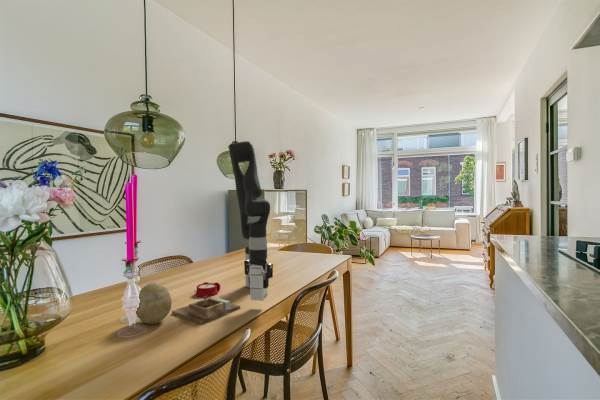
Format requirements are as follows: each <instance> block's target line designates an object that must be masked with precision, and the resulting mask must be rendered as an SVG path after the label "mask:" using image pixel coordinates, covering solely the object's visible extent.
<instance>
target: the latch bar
mask: <svg viewBox="0 0 600 400" xmlns="http://www.w3.org/2000/svg"><path fill="white" fill-rule="evenodd" d="M211 297H212V296H211ZM211 299H215V300H219V301H222V302H225V310H228V309H230V303H231V301H230V300H226V299H223V298H219V297H216V296H215V297H214V296H213V297H212V298H211Z"/></svg>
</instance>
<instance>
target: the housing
mask: <svg viewBox="0 0 600 400" xmlns="http://www.w3.org/2000/svg"><path fill="white" fill-rule="evenodd" d="M202 298H203V299H201V300H199V301H195V302H191V303H189V304H188V305H186V306H183V307H180V308H177V309H174V310H172V311H171V314H172V315H174V316H177V317H180V318H183V319H185V320H188V321H191V322H194V323H197V324H200V325H203V324H204V323H207V322H210V321H212V319H213V320H215V319H217V317H218V318H221V317H222V315H223V316H225V315H228V314H230V313H232V312H235V311H237V309H238V310H240V309H241V305H239V304H236V303H233V302H230V309H228V310H225V302H222V301H219V300H215V299H211V298H212V296H208V297H207V296H204V297H202ZM227 313H228V314H227Z"/></svg>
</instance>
